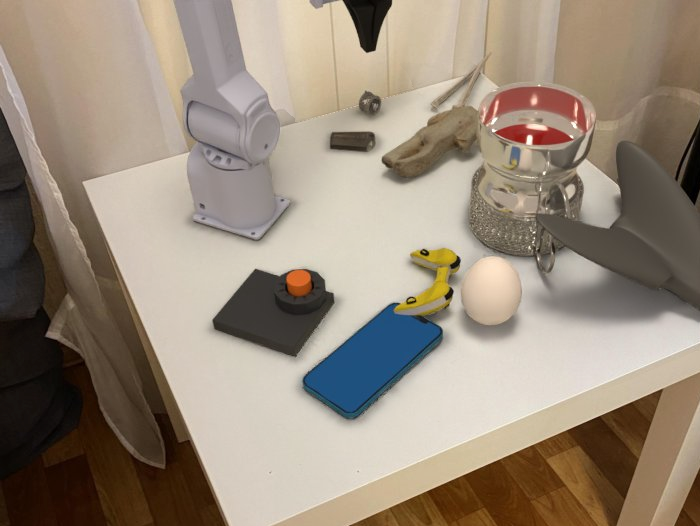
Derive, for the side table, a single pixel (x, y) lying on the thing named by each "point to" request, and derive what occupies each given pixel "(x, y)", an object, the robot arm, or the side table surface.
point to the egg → (491, 291)
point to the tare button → (299, 283)
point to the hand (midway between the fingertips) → (368, 48)
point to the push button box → (274, 311)
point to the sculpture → (434, 141)
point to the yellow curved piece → (440, 290)
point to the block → (352, 141)
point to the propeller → (642, 229)
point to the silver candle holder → (529, 165)
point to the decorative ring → (369, 103)
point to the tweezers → (470, 85)
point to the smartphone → (371, 360)
